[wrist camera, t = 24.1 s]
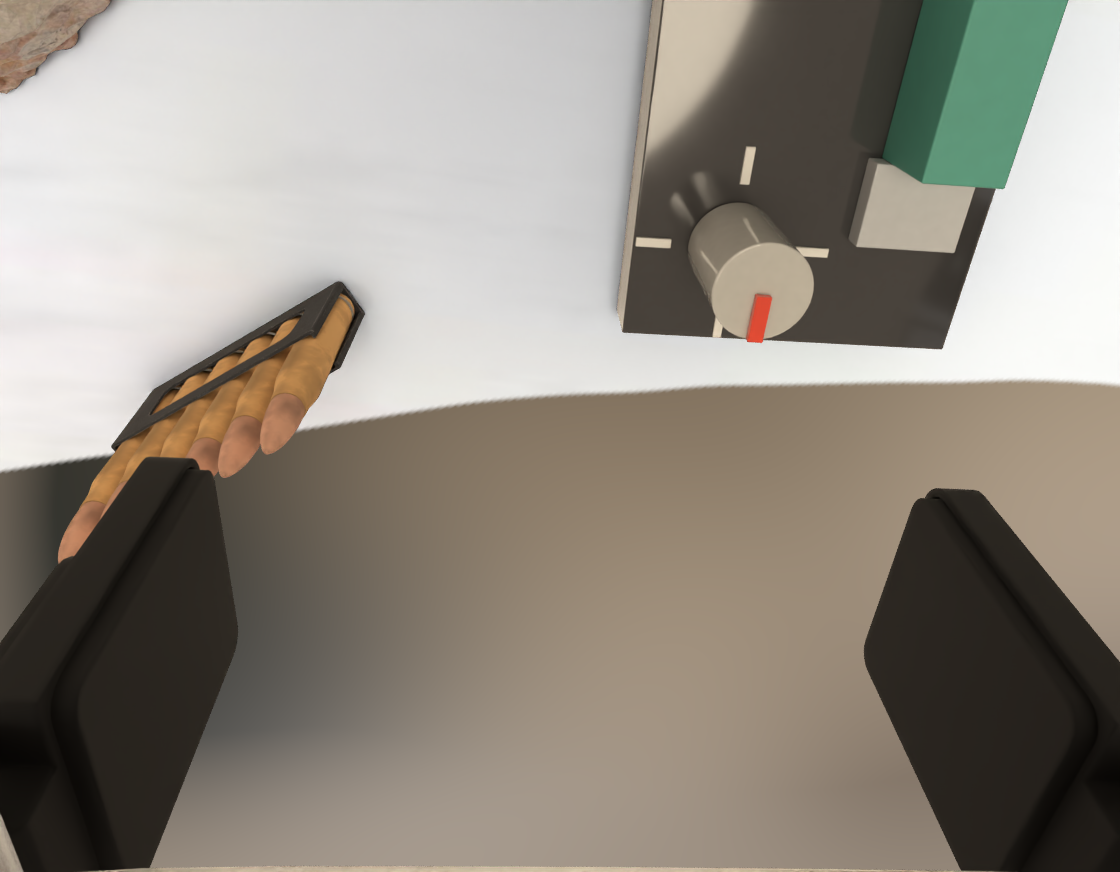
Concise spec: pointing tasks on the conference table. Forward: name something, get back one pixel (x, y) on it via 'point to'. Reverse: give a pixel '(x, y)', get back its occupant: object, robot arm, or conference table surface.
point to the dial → (749, 271)
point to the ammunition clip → (230, 401)
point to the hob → (780, 165)
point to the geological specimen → (38, 33)
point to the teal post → (955, 119)
